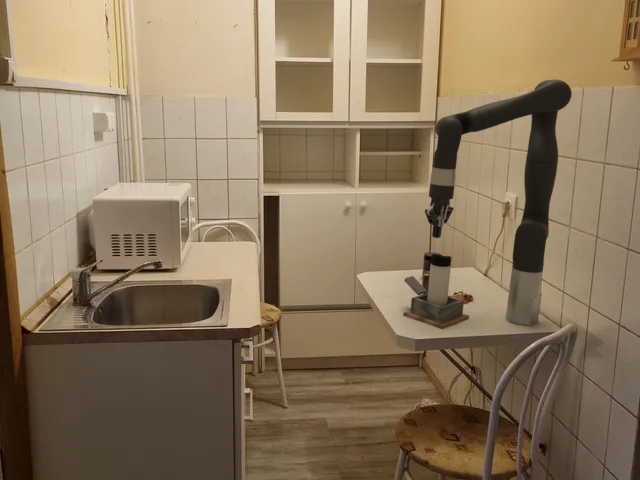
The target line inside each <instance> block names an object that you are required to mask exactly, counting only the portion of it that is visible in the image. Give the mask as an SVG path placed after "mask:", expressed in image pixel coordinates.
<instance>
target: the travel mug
mask: <svg viewBox="0 0 640 480" xmlns="http://www.w3.org/2000/svg"><path fill="white" fill-rule="evenodd" d="M439 254H440V253H439ZM439 254H432V258H431V266H430V277H429V287H428V298H427V302H430V303H433V304H436V305H439V306H444V305H447V298H448V296H449V286H450V278H451V270H452V269H451V267H452V264H451V263H452V258H453V257H452V256H449V255H442V254H441V255H442V256H441V255H439Z"/></svg>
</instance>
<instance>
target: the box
mask: <svg viewBox="0 0 640 480" xmlns="http://www.w3.org/2000/svg"><path fill="white" fill-rule="evenodd" d="M422 273H423V279H422V281H421V282H422V283H421V285H422V286H423V287H424V288H425V289H426V290H427V291H426V293H428V287H429V277H430V271H423V270H422ZM424 294H425V293H424Z"/></svg>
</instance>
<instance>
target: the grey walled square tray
mask: <svg viewBox="0 0 640 480" xmlns="http://www.w3.org/2000/svg"><path fill="white" fill-rule="evenodd" d="M451 296H452V295H448V298H447V305H444V306H439V305H436V304H433V303H430V302H427V298H428V293H425V294H421V295H417V296H414V297H411V300H410V302H411V303H410V309H409V310H407V311H404V312H402V313H403V316H404V317H406V318H409V319H413V320H414V321H417V322H421V323H424V324H427V325H429V326H432V327H435V328H438V329H441V330H444V329H446V328H450V327H451V326H454V325H457V324H459V323H461V322H463V321H467V320H468V319H470V315H469V314H467V313H464V312H463V311H464V305H465V303H464V300H461V299H457V298H454V297H451Z"/></svg>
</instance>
